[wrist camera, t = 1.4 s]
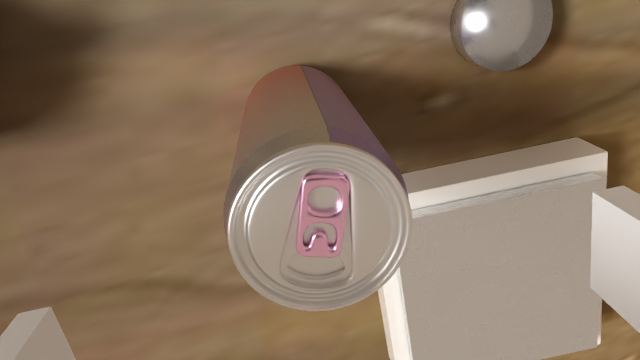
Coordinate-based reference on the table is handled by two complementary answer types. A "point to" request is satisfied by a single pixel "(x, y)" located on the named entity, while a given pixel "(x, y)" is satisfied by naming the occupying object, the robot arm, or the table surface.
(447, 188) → the base
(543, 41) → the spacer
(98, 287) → the table surface
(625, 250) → the robot arm
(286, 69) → the beverage can
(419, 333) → the pan
